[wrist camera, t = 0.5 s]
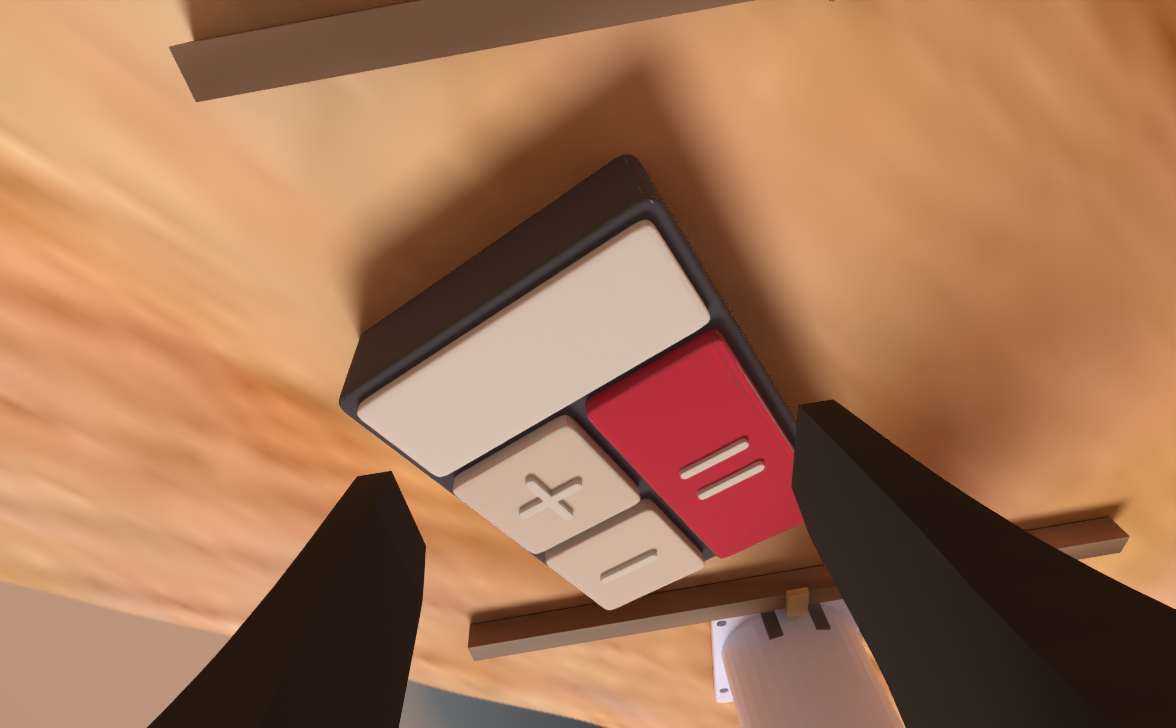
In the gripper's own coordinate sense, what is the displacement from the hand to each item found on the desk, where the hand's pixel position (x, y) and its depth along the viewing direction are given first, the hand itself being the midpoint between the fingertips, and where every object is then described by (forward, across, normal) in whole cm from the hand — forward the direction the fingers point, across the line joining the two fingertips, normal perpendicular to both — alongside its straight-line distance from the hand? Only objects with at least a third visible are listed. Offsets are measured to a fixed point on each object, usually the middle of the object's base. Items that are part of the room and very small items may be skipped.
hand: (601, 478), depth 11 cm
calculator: (+10, -1, +6) cm, 12 cm away
